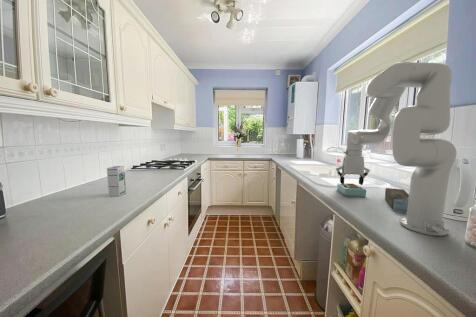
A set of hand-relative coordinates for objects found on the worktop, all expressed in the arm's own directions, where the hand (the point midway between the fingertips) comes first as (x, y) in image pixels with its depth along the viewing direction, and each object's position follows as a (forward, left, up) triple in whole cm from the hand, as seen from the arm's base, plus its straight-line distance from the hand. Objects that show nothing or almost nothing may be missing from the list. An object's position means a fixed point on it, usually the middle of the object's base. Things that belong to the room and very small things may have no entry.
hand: (351, 184), depth 116 cm
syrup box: (-24, +123, -6) cm, 125 cm away
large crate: (0, 0, -5) cm, 5 cm away
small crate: (0, 0, -4) cm, 4 cm away
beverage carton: (-18, -14, -6) cm, 23 cm away
